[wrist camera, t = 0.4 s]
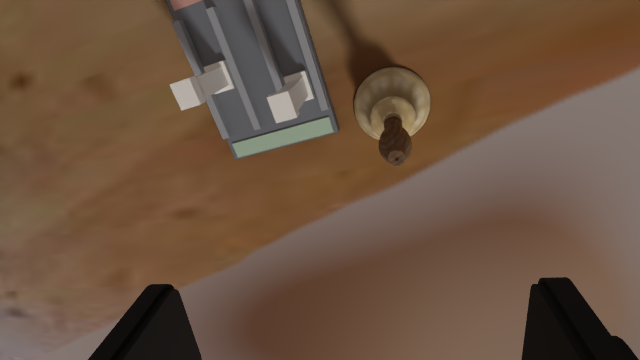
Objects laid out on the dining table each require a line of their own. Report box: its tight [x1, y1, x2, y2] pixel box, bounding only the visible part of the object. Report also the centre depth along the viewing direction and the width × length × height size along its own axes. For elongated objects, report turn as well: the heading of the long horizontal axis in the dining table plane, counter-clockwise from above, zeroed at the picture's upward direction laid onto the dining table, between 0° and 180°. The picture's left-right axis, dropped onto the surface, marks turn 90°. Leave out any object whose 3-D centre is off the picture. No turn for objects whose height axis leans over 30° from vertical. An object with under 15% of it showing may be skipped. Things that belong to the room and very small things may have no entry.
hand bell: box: [354, 67, 430, 167], centre depth 34 cm, size 8×8×16 cm
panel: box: [166, 0, 340, 160], centre depth 40 cm, size 19×13×2 cm
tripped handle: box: [170, 60, 237, 110], centre depth 37 cm, size 3×2×9 cm
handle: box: [267, 70, 315, 123], centre depth 36 cm, size 3×2×9 cm
